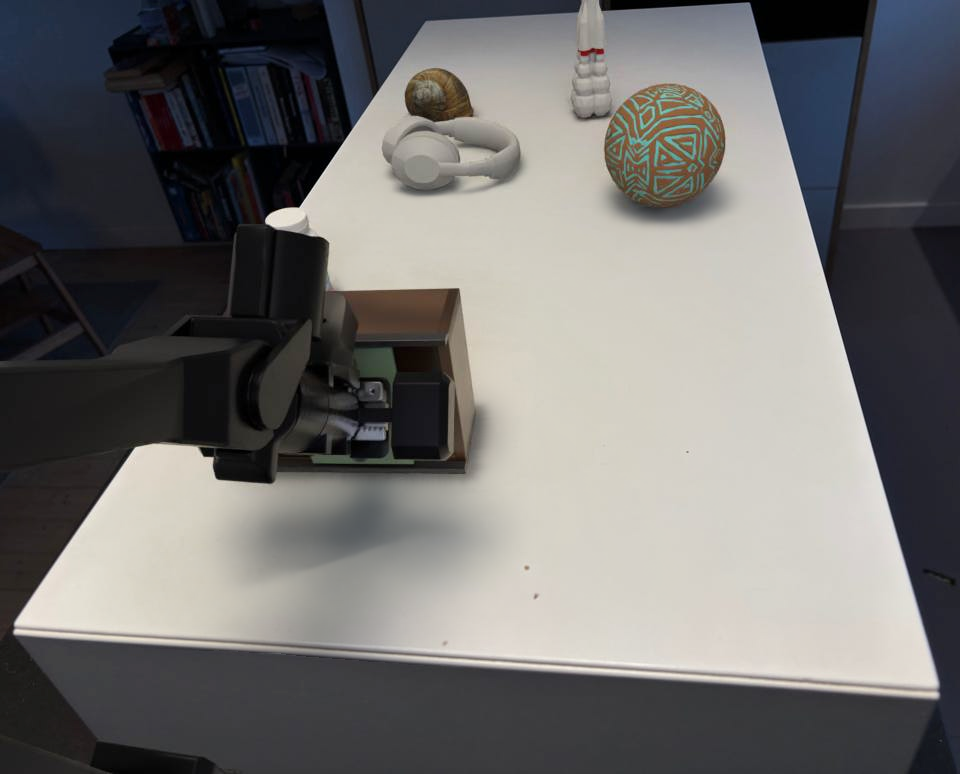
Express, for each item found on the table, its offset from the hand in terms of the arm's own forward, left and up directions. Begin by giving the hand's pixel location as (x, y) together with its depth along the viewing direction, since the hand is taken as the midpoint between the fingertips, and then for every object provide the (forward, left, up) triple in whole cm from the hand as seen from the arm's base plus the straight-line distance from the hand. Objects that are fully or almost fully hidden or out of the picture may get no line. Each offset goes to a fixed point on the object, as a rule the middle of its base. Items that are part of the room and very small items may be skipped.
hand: (359, 423), depth 67 cm
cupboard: (+5, +4, -7) cm, 9 cm away
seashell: (+81, +34, -7) cm, 88 cm away
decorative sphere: (+59, -10, -7) cm, 60 cm away
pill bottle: (+24, +23, -7) cm, 34 cm away
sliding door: (0, +1, -6) cm, 6 cm away
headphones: (+62, +22, -7) cm, 66 cm away
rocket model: (+87, +9, -7) cm, 87 cm away
